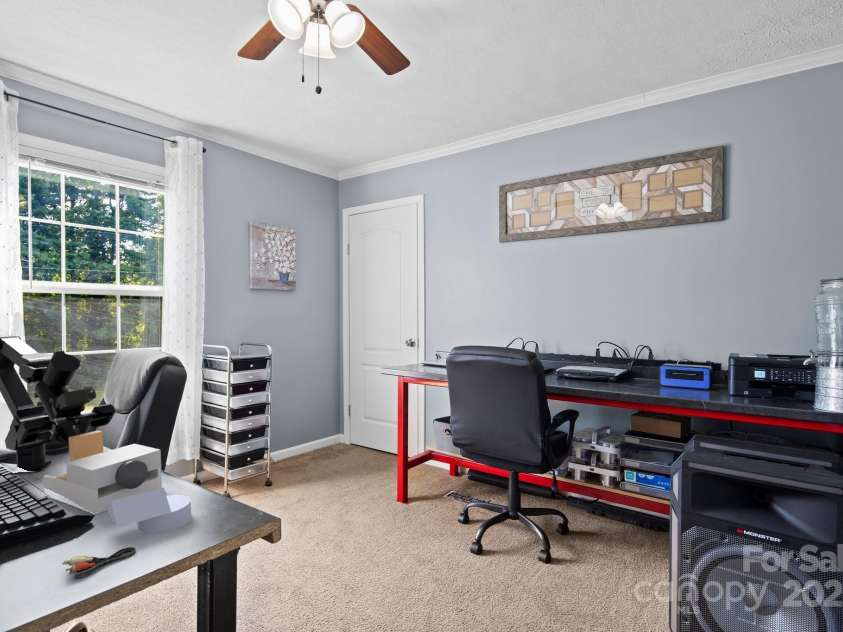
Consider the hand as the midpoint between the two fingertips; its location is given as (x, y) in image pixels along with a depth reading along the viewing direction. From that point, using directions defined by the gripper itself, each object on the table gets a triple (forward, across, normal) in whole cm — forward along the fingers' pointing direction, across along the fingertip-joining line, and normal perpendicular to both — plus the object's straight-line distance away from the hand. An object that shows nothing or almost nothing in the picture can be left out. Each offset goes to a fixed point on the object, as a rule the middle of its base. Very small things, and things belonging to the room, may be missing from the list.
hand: (83, 451), depth 108 cm
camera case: (+12, 0, 0) cm, 12 cm away
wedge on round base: (+29, -4, -17) cm, 34 cm away
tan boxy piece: (+6, 0, 0) cm, 6 cm away
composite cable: (+33, -16, -21) cm, 42 cm away
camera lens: (-19, +10, +31) cm, 38 cm away
